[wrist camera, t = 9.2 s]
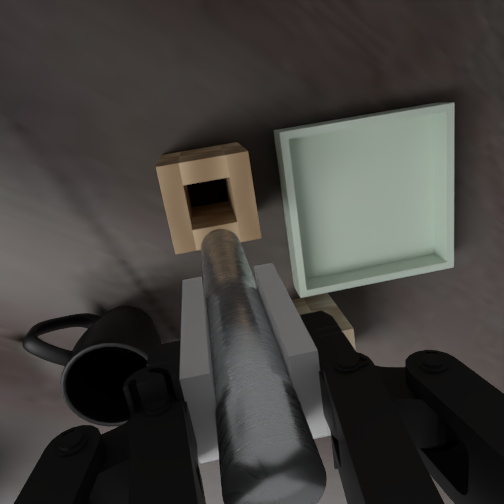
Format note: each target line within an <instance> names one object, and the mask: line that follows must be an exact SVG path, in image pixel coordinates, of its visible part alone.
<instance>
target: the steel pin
mask: <svg viewBox="0 0 504 504" xmlns="http://www.w3.org/2000/svg"><path fill="white" fill-rule="evenodd" d="M201 257H202V268H203V280H204V290H205V295H206V301H207V312H208V322H209V333H210V344H211V354H212V365H213V376H214V387H215V397H216V407H215V417H216V428H217V440H218V451H219V463H220V474H221V486H222V496H223V501H224V504H317V503H318V502H319V500H320V498H321V497H322V495H323V493H324V490H325V487H326V471H325V468H324V465H323V463H322V460H321V457H320V455H319V452H318V449H317V447H316V444H315V441H314V439H313V436H312V433H311V430H310V428H309V425H308V422H307V420H306V417H305V414H304V412H303V409H302V406H301V404H300V401H299V398H298V396H297V393H296V391H295V389H294V387H293V385H292V382H291V379H290V377H289V374H288V371H287V369H286V366H285V363H284V360H283V358H282V355H281V352H280V350H279V347H278V344H277V341H276V339H275V336H274V333H273V331H272V328H271V325H270V322H269V320H268V317H267V314H266V312H265V309H264V306H263V303H262V301H261V298H260V295H259V293H258V290H257V286H256V283H255V280H254V278H253V275H252V272H251V270H250V267H249V264H248V261H247V259H246V256H245V253H244V251H243V248H242V245H241V243H240V240H239V238H238V237H237V235H236V234H235V233H233V232H232V231H230V230H227V229H216V230H213V231H211V232H209V233H208V234H207V235H206V236H205V237H204V239H203V241H202V244H201Z"/></svg>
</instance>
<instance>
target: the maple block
mask: <svg viewBox="0 0 504 504" xmlns="http://www.w3.org/2000/svg"><path fill="white" fill-rule="evenodd" d="M292 302H293V304H294V306H295V308H296V310H297V311H298V313H299V315H302V314H306V313H311V312H316V311H321V310H322V311H324V312H326V313H328V314H329V315H331V316H333V318H334V319H335V321H336V322H337V324H338V326H339V327H340V328H341V330H342V332H343V333H344V334H345V336H346V337H347V339H348V340H349V342H350V343H351V345H352V346H353V348H354V349H355V339H354V328H353V327H352V326H351V324H350V323H349V321H348V320H347V319H346V317H345V316H344V315H343V313H342V312H341V311H340V309H339V308H338V306H337V305H336V304H335V302H334V301H333V300H332V298H331V297H330V295H329V294H328V293H323V294H318V295H313V296H308V297H303V298H297V299H292ZM355 351H356V350H355Z"/></svg>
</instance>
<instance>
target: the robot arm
mask: <svg viewBox="0 0 504 504" xmlns="http://www.w3.org/2000/svg"><path fill="white" fill-rule="evenodd" d="M253 267H254V273H255V279H256V285H257V290H258V293H259V295H260V298H261V301H262V303H263V306H264V309H265V312H266V314H267V317H268V320H269V322H270V325H271V328H272V331H273V333H274V336H275V339H276V341H277V344H278V347H279V350H280V352H281V355H282V358H283V360H284V363H285V366H286V369H287V371H288V374H289V377H290V379H291V382H292V385H293V387H294V389H295V391H296V393H297V396H298V398H299V401H300V404H301V406H302V409H303V412H304V414H305V417H306V420H307V422H308V425H309V428H310V430H311V433H312V436H313V438H315V437H319V436H323V435H328V433H327V425H326V422H327V424H328V426H329V429H330V432H331V440H332V449H333V458H334V467H335V469H338V470H339V474H340V477H341V481H342V485H343V489H344V492H345V496H346V500H347V503H348V504H444V502H443V500H442V498H441V496H440V494H439V492H438V490H437V488H436V486H435V484H434V482H433V480H432V478H431V476H432V477H433V479H434V480H435V481H436V482H437V483H438V484H439V486H440V487H441V488H442V489H443V490H444V492H445V493H446V494H447V495H448V496H449V497H450V499H451V500H452V501H453V502H454V503H455V504H504V394H503V393H502V392H501V391H499V390H498V389H497V388H495V387H494V386H493V385H491V384H490V383H489V382H487V381H486V380H485V379H483V378H482V377H481V376H479V375H478V374H476V373H475V372H474V371H472V370H471V369H470V368H468V367H467V366H466V365H464V364H463V363H462V362H460V361H459V360H458V359H456V358H455V357H453V356H451V355H449V354H447V353H444V352H440V351H435V350H424V351H418V352H415V353H413V354H411V355H409V357H408V358H407V359H406V367H380V366H375V365H374V363H373V362H372V361H371V359H370V358H369V357H367V356H365V355H363V354H361V353H357V352H356V351H355V349H354V348H353V346H352V345H351V343H350V342H349V340H348V339H347V337H346V336H345V334H344V333H343V332H342V330H341V328H340V327H339V326H338V324H337V322H336V321H335V319H334V318H333V316H331V315H329V314H328V313H326V312H324V311H322V310H321V311H316V312H311V313H306V314H302V315H299V313H298V311H297V310H296V308H295V306H294V304H293V302H292V300H291V298H290V296H289V294H288V292H287V290H286V288H285V286H284V284H283V283H282V281H281V279H280V277H279V275H278V273H277V271H276V269H275V267H274V265H273V263H268V264H263V265H258V266H253ZM123 390H124V394H125V397H126V400H127V404H128V407H129V410H130V414H131V419H130V420H128V421H127V422H126V423H124V424H123V425H121V426H119V427H117V428H115V429H113V430H111V431H108V432H106V433H104V434H102V435H101V434H100V432H99V430H98V428H96V427H94V426H92V425H81V426H77V427H73V428H71V429H68V430H66V431H64V432H62V433H61V434H59V435H58V436H57V437H55V438H54V439H53V440H52V441H51V442H50V443H49V445H48V446H47V447H46V448H45V450H44V452H43V454H42V455H41V457H40V459H39V461H38V462H37V464H36V466H35V468H34V469H33V471H32V473H31V475H30V476H29V478H28V480H27V481H26V483H25V485H24V487H23V488H22V490H21V492H20V494H19V495H18V497H17V499H16V501H15V502H14V504H206V502H205V496H204V490H203V484H202V478H201V474H200V470H199V466H198V457H199V461H200V463H204V462H209V461H213V460H218V459H219V451H218V440H217V428H216V417H215V407H216V397H215V387H214V376H213V365H212V354H211V344H210V333H209V322H208V312H207V301H206V295H205V290H204V285H203V280H202V276H201V277H196V278H191V279H186V280H182V312H181V340H180V341H175V342H170V343H165V344H160V345H156V346H155V347H154V348H153V349H152V351H151V352H150V353H149V355H148V358H147V367H145V368H143V369H140V370H138V371H136V372H135V373H133V374H132V375H130V376H129V377H128V378H127V380H126V381H125V382H124V385H123ZM430 475H431V476H430Z"/></svg>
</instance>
